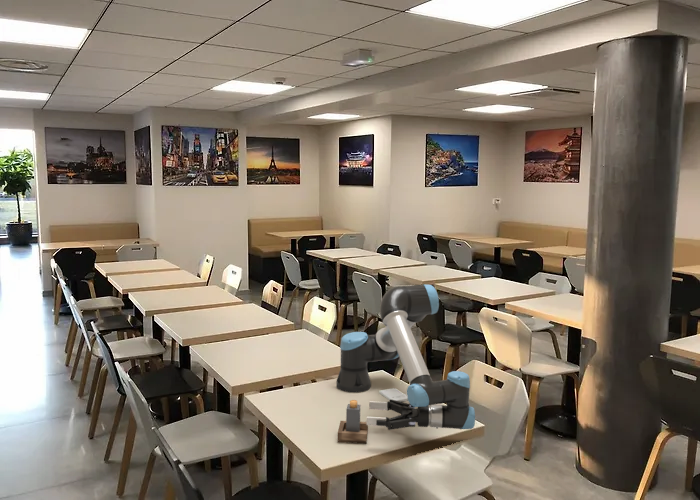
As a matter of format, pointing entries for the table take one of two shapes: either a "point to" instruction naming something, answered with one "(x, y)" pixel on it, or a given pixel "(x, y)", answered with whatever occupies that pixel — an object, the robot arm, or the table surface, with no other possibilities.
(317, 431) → the table surface
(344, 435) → the holder
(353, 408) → the connector plug
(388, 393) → the external hard drive
